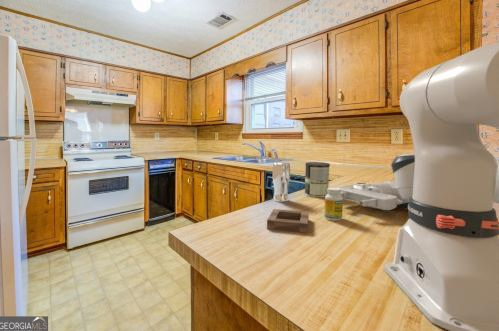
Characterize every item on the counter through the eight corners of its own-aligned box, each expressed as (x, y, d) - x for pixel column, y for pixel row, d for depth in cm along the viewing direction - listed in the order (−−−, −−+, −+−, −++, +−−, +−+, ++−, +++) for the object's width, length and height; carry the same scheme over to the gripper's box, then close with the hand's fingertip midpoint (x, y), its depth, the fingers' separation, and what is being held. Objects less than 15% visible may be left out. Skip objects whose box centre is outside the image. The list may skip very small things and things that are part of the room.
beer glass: (268, 199, 102) (269, 162, 101) (282, 197, 105) (283, 162, 104) (278, 203, 96) (279, 164, 94) (292, 201, 99) (293, 163, 98)
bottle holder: (307, 232, 67) (307, 223, 66) (266, 228, 69) (267, 220, 69) (308, 219, 77) (308, 211, 77) (273, 216, 80) (273, 209, 80)
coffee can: (299, 194, 111) (300, 163, 110) (313, 191, 118) (314, 161, 116) (319, 198, 103) (320, 165, 102) (333, 195, 110) (334, 163, 108)
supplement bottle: (331, 214, 82) (332, 186, 81) (345, 219, 78) (347, 189, 77) (320, 217, 79) (321, 188, 78) (334, 222, 75) (336, 191, 74)
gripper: (405, 211, 80) (378, 218, 73) (351, 197, 98) (326, 202, 91) (406, 192, 79) (379, 197, 72) (352, 182, 97) (326, 185, 90)
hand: (349, 199), depth 82 cm, fingers open, 8 cm apart
